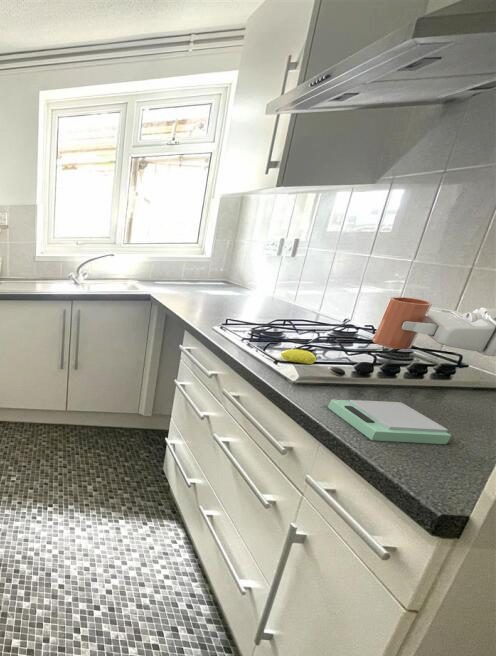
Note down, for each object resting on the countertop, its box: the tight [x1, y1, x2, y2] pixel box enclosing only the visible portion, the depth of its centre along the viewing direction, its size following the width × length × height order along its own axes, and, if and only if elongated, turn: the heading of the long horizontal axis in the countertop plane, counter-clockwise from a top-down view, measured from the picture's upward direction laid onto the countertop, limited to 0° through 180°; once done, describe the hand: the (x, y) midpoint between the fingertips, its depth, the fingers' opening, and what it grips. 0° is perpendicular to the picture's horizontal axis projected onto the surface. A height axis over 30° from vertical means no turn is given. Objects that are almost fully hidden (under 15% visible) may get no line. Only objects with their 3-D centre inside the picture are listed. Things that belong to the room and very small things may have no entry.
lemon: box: [280, 348, 317, 365], centre depth 114 cm, size 4×8×4 cm, turn 58°
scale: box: [327, 399, 452, 445], centre depth 83 cm, size 13×13×3 cm
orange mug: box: [371, 296, 433, 350], centre depth 92 cm, size 7×7×10 cm
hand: (396, 319), depth 92 cm, fingers closed on orange mug, 7 cm apart
